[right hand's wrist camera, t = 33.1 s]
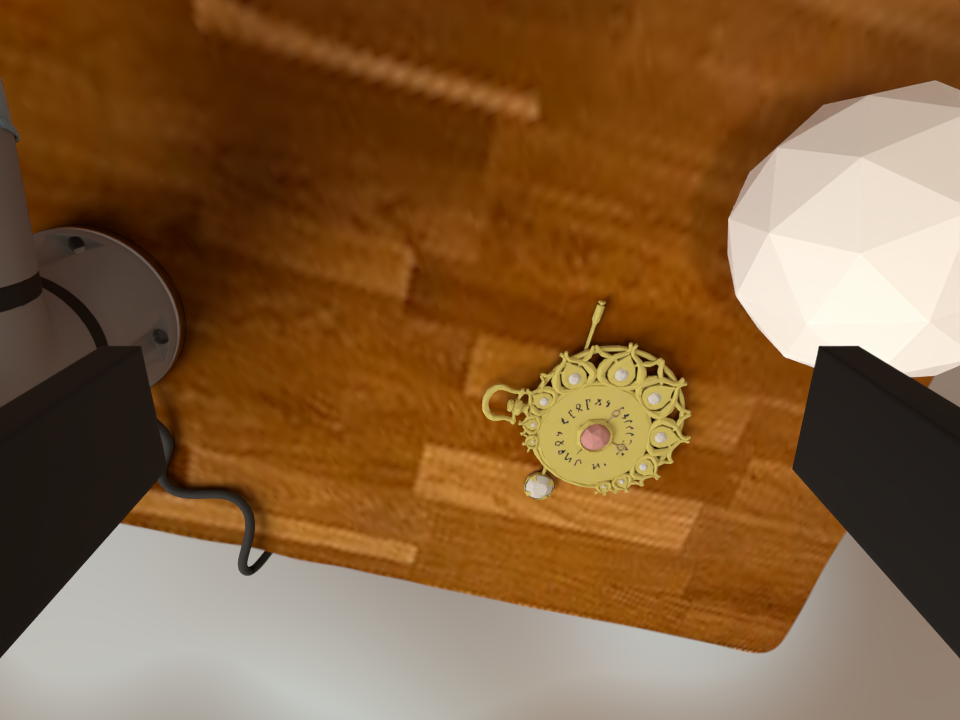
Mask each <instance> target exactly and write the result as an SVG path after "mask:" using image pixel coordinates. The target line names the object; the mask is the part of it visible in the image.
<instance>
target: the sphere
mask: <svg viewBox="0 0 960 720" xmlns="http://www.w3.org/2000/svg"><path fill="white" fill-rule="evenodd" d="M728 259H729V264H730V269H731V274H732V279H733V284H734V289H735V294H736V297H737V298H738V300H739V301H740V303H741V304H742V306H743V307H744V308H745V310H746V311H747V313H748V314H749V316H750V317H751V319H752V320H753V322H754V323H755V324H756V326H757V327H758V328H759V330H760V331H761V332H762V333H763V334H764V335H765V336H766V337H767V338H768V339H769V340H770V341H771V343H772V344H773V345H774V346H775V347H776V348H777V349H778V350H779V351H780V352H781V353H782V355H783V356H784V357H786V358H789V359H792V360H794V361H797V362H800V363H803V364H806V365H809V366H811V367H814V366H815V362H816V357H817V352H818V348H819V346H859V347H861V348H863V349H864V350H866V351H868V352H869V353H871V354H873V355H874V356H876V357H878V358H879V359H881V360H883V361H884V362H886V363H887V364H889V365H891V366H892V367H894V368H896V369H897V370H899V371H901V372H902V373H904V374H906V375H907V376H909V377H921V376H935V375H938V374H940V373H943V372H945V371H947V370H950V369H952V368H955V367H957V366H959V365H960V90H958V89H956V88H953V87H951V86H948V85H946V84H943V83H941V82H938V81H936V80H935V81H930V82H925V83H921V84H916V85H912V86H907V87H903V88H898V89H894V90H889V91H884V92H880V93H875V94H871V95H866V96H862V97H857V98H852V99H848V100H843V101H839V102H834V103H830V104H825V105H823V106H822V107H821V108H819V109H818V110H817V111H816V112H815V113H814V114H813V115H812V116H811V117H810V118H808V119H807V120H806V121H805V122H804V123H803V124H802V125H801V126H800V127H799V128H798V129H796V130H795V131H794V132H793V133H792V134H791V135H790V136H789V137H788V138H787V139H785V140H784V141H783V142H782V143H781V144H780V145H779V146H778V147H777V148H776V149H775V150H773V151H772V152H771V153H770V154H769V155H768V156H767V157H766V158H765V159H764V160H762V161H761V162H760V163H759V164H758V165H757V166H756V167H755V168H754V169H753V170H751V171H750V172H749V174H748V176H747V179H746V181H745V183H744V185H743V188H742V190H741V192H740V194H739V196H738V199H737V201H736V203H735V205H734V207H733V210H732V212H731V214H730V216H729V218H728Z"/></svg>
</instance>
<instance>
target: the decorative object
mask: <svg viewBox="0 0 960 720" xmlns="http://www.w3.org/2000/svg"><path fill="white" fill-rule="evenodd" d="M598 302H599V304H597V306H596V309H595V312H594V315H593V318H592V322H593V324H592V327H591V330H590V333H589V336H588V339H587V342H586V345H585V348H584V351H582V352H580V353H577V354H575V355H573V356H571V357H569V356H568V351H565V353H560V356H561V357H562V358H563V361H562V362H561V363H560V364H558V365H557V366H556V367H555V368H554V369H553V370H552V371H550V372H549V373H548V374H544V373H541V374H540V378H541V380H542V382H541V383H540V385H539V386H538V387H537V389H536V390H534V391H529V389H526V390H527V391H525V389H524V388H521V389H520V390H519V389H512V388H510V387H509V386H507V385H505V384H501V383H499V384H495V385H493V386H492V387H491V388H489V389H488V390H487V392H486V393H485V395H484V397H483V401H482V408H483V412H484V414H485V415H486V417H487V418H488V419H490V420H494V421H498V420H507V421H510V422H511V424H514V423H515V421H516V418H515V415H519V414H520V413H521V412H524V413H525V415H526V416H527V417H526V418H525V419H524V421H519V423H518V425H522V426H523V428H524V431H523V432H521V433H520V435H523V436H525V437H526V440H525V442H522V443H523V444H522V445H526V446H527V447H528V450H527V452H529V451H530V449H533V451H534V454H535V456H536V457H537V458H538V459H539V461H540V462H541V463H542V465H543V466H544V468H543V471H542V472H536V473H534V474H532V475H529V476H528V477H527V479H526V482H525V484H524V490H525V493H526V495H527V496H529V497H531V498H534V499H545V498H547V497H549V495H550V494H551V493H552V490H553V487H554V482H553V480H552V478H551V477H549V476H548V475H547V474H546V473H545V472H546V470H548V471H550V472H551V473H552V474H553V475H554V476H556V477H558V478H560V479H562V480H563V481H565V482H568V483H571V484H574V485H577V486H581V487H589V488H596V489H597V491H595V492H594V494H596V493H598V492H601V493H603V496H604V495H606V492H608V491H609V490H610V491H612V492H614V494H617V491H618V490H625V493H627V492H629V490H628V487H630V486H631V485H632V484H638V485H640V486H644V484H643V481H644V479H647V478H651V477H655V479H656V480H658V478H659V477H660V475H657V469H658V466H660V465H662V464H664V463H667V464H671V463H673V460H672V459H671V454H672V450H673V449H675V448H676V447H677V446H678V445H679V444H680V443H681V442H686V443H689V442H690V441H689V439H690V436H683V435H682V433H681V431H682V428H683V425H684V420H685V419H687V418H689V417H690V416H691V414H690V413H691V411H690V410H687V409H685V402H684V396H683V393H682V390H681V387H682V386H687V382H684V381H685V380H684V378H681V379H680V380H679V381H677V379H676V377H675V376H674V374H673V372H672V371H671V370H670V369H669V368H668V367H667V366H666V365H665V364H664V362H665V361H664V359H662V358H660V359H658V358H656V357H654V356H653V355H651V354H650V353H647V352H645V351H642V350H639V349H636V348H637V347H638V345H637V344H634V345H633V344H632V342H631V343H629V347H626V346H619V345H617V346H600V347H599V346H598V345H595V346H594V345H593V346H592V347H591V349H588V347H589V344H590V341H591V338H592V336H593V333H594V330H595V327H596V324H597V323H598V322H599V321H600V319H601V316H602V313H603V310H604V308H605V306H603V305H604V304H606V302H604V301H601V300H599V301H598ZM612 351H619V352H621V353H618V354H614V355H611V354H609V353H606V352H612ZM596 353H599V354H600V355H601V356H602V357H605V358H606V359H604V360H603V361H602V362H601V363H600V364H599V366H598V368H597V369H596V368H595V366H594V365H593V364H592V363H591V362H589V361H588V360H589V359H590V358H591V357H592V355H593V354H596ZM630 353H631V355H630ZM637 355H638V356H641V357H644V358H646V359H648V360H650V361H648V362H642V360H641V359H640V358H639V357H638V356H637ZM631 356H632V358H633V359H634V360H635V362H636V363H637V364H634V363H633V360H632V358H631ZM580 358H581V359H580ZM619 358H621V359H619ZM617 359H619V360H617ZM613 361H615V362H614V363H613ZM572 362H573V363H578V365H576V364H573V363H572ZM612 363H613V364H612ZM611 364H612V365H611ZM655 364H657V365H658V366H659V367H658V371H657V372H658V376H647V377H646V375H647V372H646V368H645V367H651V366H653V365H655ZM610 365H611V366H610ZM582 366H583V367H584V368H585V369H586V371H587V372H588V373H589V376H588V378H587V377H586V371H585V370H584V369H583V368H582ZM635 367H638V371H637V377H636V380H635V381H634V382H632V381H633V379H634V378H635ZM563 368H564V369H563ZM562 369H563V371H561V370H562ZM606 371H607V378H608V379H607V378H606V376H605V373H606ZM663 371H664V372H665V373H666V374H667V376H668V377H669V379H667V378H665V377H663ZM560 374H561V378H562V384H563V385H564V386H565V387H563V386H561V380H560ZM543 377H545V378H543ZM551 378H552V381H551V382H552V386H553V387H550V386H546V384H547V383H548V381H549V380H550V379H551ZM596 378H597V379H598V380H596ZM631 382H632V383H631ZM656 383H659V384H656ZM663 383H666V384H669V385H664V384H663ZM545 386H546V387H545ZM566 387H567V388H566ZM645 387H646V388H645ZM498 390H505V391H508V392H511V393H515V394H519V395H518V399H515V400H514V401H513V399H509V401H508V404H507V410H508V411H510V412H511V410H512V414H513V415H512V417H509V416H503V415H495V414H493V413H491V411H490V409H489V406H488V405H489V400H490V398H491V396H492V395H493V393H494V392H496V391H498ZM634 390H635V391H634ZM642 390H643V391H642ZM673 391H674V394H673V398H671V395H672V392H673ZM524 394H528V396H529V402H528V403H526V404H524V403H523V401H522V399H520V398H521V397H522V396H523V395H524ZM551 394H552V395H551ZM678 399H679V403H678V402H677V400H678ZM669 400H670V402H669V403H668V404H667V405H666V406H664V405H665V404H666V403H667V402H668V401H669ZM535 405H536V406H537V408H540V409H542V410H538V409H537V408H536V407H535ZM663 406H664V407H663ZM662 407H663V408H662ZM675 407H676V408H677V409H678V411H680V412H679V419H678V421H677V423H675V421H674V420H673V419H671V418H667V417H666V416H668V415H669V414H670V413H672V411H673V410H674V408H675ZM528 408H529V410H528ZM660 408H662V409H661V410H657V409H660ZM654 410H657V411H654ZM685 413H687V414H686V415H685ZM651 417H652V418H654V419H655V420H654V421H653V423H652V421H651ZM662 424H663V425H662ZM664 425H666V426H664ZM667 426H668V427H667ZM670 427H671V428H673V429H671V428H670ZM674 431H675V433H674ZM526 432H527V434H528V436H527V434H525V433H526ZM650 443H651V444H650ZM651 445H653V446H655V447H658V449H654V448H653V447H652V446H651ZM666 446H668V447H667V448H660V447H666ZM646 450H647V452H648V453H646V454H644V453H645V452H646ZM656 456H659V458H657V457H656ZM666 457H667V458H668V461H666V460H664V459H665V458H666ZM650 459H651V460H652V462H653V463H652V462H651V460H650ZM654 468H655V469H654ZM653 469H654V472H653ZM629 470H630V471H629ZM635 470H636V471H637V472H638V473H635ZM628 471H629V473H626V472H628ZM611 480H612V481H611ZM634 480H640V481H639V482H640V483H639V482H637V481H634ZM610 481H611V482H610ZM627 484H628V485H627ZM611 487H614V488H615V491H614V490H613V489H611Z"/></svg>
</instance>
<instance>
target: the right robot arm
mask: <svg viewBox="0 0 960 720" xmlns="http://www.w3.org/2000/svg"><path fill="white" fill-rule="evenodd" d="M18 141H19V134H18V132H17V130H16V128H15V127H14V125H13V124H12V121H11V117H10V113H9V108H8V104H7V100H6V96H5V91H4V87H3V83H2V80H1V78H0V658H1V657H2V656H3V654H4V653H5V652H6V651H7V650H8V649H9V648H10V647H11V645H12V644H13V643H14V642H15V641H16V640H17V639H18V637H19V636H20V635H21V634H22V633H23V632H24V631H25V630H26V628H27V627H28V626H29V625H30V624H31V623H32V622H33V621H34V619H35V618H36V617H37V616H38V615H39V614H40V613H41V612H42V610H43V609H44V608H45V607H46V606H47V605H48V604H49V602H50V601H51V600H52V599H53V598H54V597H55V596H56V595H57V593H58V592H59V591H60V590H61V589H62V588H63V587H64V586H65V584H66V583H67V582H68V581H69V580H70V579H71V578H72V577H73V575H74V574H75V573H76V572H77V571H78V570H79V569H80V567H81V566H82V565H83V564H84V563H85V562H86V561H87V560H88V558H89V557H90V556H91V555H92V554H93V553H94V552H95V551H96V549H97V548H98V547H99V546H100V545H101V544H102V543H103V541H104V540H105V539H106V538H107V537H108V536H109V535H110V534H111V532H112V531H113V530H114V529H115V528H116V527H117V526H118V525H119V523H120V522H121V521H122V520H123V519H124V518H125V517H126V516H127V514H128V513H129V512H130V511H131V510H132V509H133V508H134V506H135V505H136V504H137V503H138V502H139V501H140V500H141V499H142V497H143V496H144V495H145V494H146V493H147V492H148V491H149V490H150V488H151V487H152V486H153V485H154V484H155V483H156V482H157V481H158V482H159V484H160V485H161V486H162V488H164V489H165V490H166V491H167V492H168V493H170V494H172V495H174V496H177V497H181V498H188V499H205V498H218V499H225V500H229V501H231V502H233V503H235V504H236V505H237V506H238V507H239V508H240V509H241V511H242V512H243V515H244V517H245V535H244V539H243V543H242V547H241V551H240V554H239V559H238V568H239V571H240V572H241V573H242V574H243V575H246V576H249V575H252V574H254V573H255V572H257V571H258V570H259V569H260V568H261V567H262V566H263V565H264V564H265V563H266V561H267V560H268V559H269V557H270V556H271V555H272V554H273V553H271V552H267V551H264V552H263V554H262V555H261V556H260V557H259V558H258V560H257V561H256V562H255V563H254V564H253V565H251V566H250V567H248V566H247V561H248V556H249V553H250V549H251V546H252V542H253V537H254V531H255V520H254V514H253V512H252V509H251V507H250V506H249V504H248V503H247V501H246V500H245V499H244V498H242V497H241V496H240V495H238V494H236V493H234V492H231V491H227V490H215V489H209V490H189V489H183V488H180V487H178V486H176V485H174V484H173V483H172V482H171V481H170V480H169V479H168V478H167V474H166V472H167V469H168V468H167V467H168V464H169V461H170V459H171V456H172V453H173V448H174V443H173V439H172V436H171V433H170V432H169V430H168V429H167V428H166V427H165V426H164V425H163V424H162V423H161V422H160V421H159V420H158V419H157V417H156V413H155V408H154V403H153V399H152V394H151V389H150V387H151V386H153V385H154V384H155V383H156V382H158V381H159V380H160V379H161V378H163V377H164V376H165V375H166V374H167V373H168V372H169V371H170V370H171V368H172V367H173V366H174V365H175V363H176V361H177V360H178V358H179V355H180V353H181V351H182V347H183V344H184V339H185V317H184V311H183V307H182V304H181V301H180V298H179V295H178V293H177V291H176V289H175V287H174V285H173V283H172V281H171V280H170V278H169V277H168V275H167V274H166V273H165V271H164V270H163V269H162V268H161V266H160V265H159V264H158V263H157V262H156V261H155V260H154V259H153V258H152V257H151V256H150V255H149V254H148V253H147V252H145V251H144V250H143V249H141V248H140V247H139V246H137V245H136V244H134V243H133V242H131V241H129V240H127V239H126V238H124V237H122V236H120V235H117V234H115V233H113V232H110V231H107V230H104V229H100V228H96V227H90V226H80V225H71V226H62V227H56V228H53V229H49V230H45V231H41V232H38V233H36V234H33V235H32V229H31V224H30V219H29V213H28V208H27V203H26V197H25V192H24V187H23V181H22V176H21V171H20V165H19V160H18V155H17V150H16V144H15V143H16V142H18ZM161 439H162V440H161ZM162 441H163V445H162ZM792 469H793V470H794V471H795V473H796V474H797V475H798V476H799V477H800V478H801V479H802V481H803V482H804V483H805V484H806V485H807V486H808V487H809V488H810V490H811V491H812V492H813V493H814V494H815V495H816V496H817V497H818V499H819V500H820V501H821V502H822V503H823V504H824V505H825V506H826V508H827V509H828V510H829V511H830V512H831V513H832V514H833V516H834V517H835V518H836V519H837V520H838V521H839V522H840V523H841V525H842V526H843V527H844V528H845V529H846V530H847V531H848V532H849V534H850V535H851V536H852V537H853V538H854V539H855V540H856V541H857V543H858V544H859V545H860V546H861V547H862V548H863V549H864V551H865V552H866V553H867V554H868V555H869V556H870V557H871V558H872V560H873V561H874V562H875V563H876V564H877V565H878V566H879V567H880V569H881V570H882V571H883V572H884V573H885V574H886V575H887V576H888V578H889V579H890V580H891V581H892V582H893V583H894V584H895V585H896V587H897V588H898V589H899V590H900V591H901V592H902V593H903V595H904V596H905V597H906V598H907V599H908V600H909V601H910V602H911V604H912V605H913V606H914V607H915V608H916V609H917V610H918V612H919V613H920V614H921V615H922V616H923V617H924V618H925V619H926V621H927V622H928V623H929V624H930V625H931V626H932V627H933V628H934V630H935V631H936V632H937V633H938V634H939V635H940V636H941V637H942V639H943V640H944V641H945V642H946V643H947V644H948V645H949V647H950V648H951V649H952V650H953V651H954V652H955V653H956V654H957V656H958V657H959V658H960V407H958V406H957V405H955V404H953V403H952V402H950V401H948V400H947V399H945V398H943V397H942V396H940V395H939V394H937V393H935V392H934V391H932V390H930V389H929V388H927V387H925V386H924V385H922V384H920V383H919V382H917V381H915V380H914V379H912V378H911V377H909V376H907V375H906V374H904V373H902V372H901V371H899V370H897V369H896V368H894V367H892V366H891V365H889V364H887V363H886V362H884V361H883V360H881V359H879V358H878V357H876V356H874V355H873V354H871V353H869V352H868V351H866V350H864V349H863V348H861V347H859V346H819V348H818V352H817V357H816V362H815V366H814V371H813V376H812V380H811V385H810V389H809V394H808V399H807V403H806V408H805V413H804V417H803V422H802V426H801V431H800V436H799V440H798V445H797V450H796V454H795V459H794V464H793V468H792Z"/></svg>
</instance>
